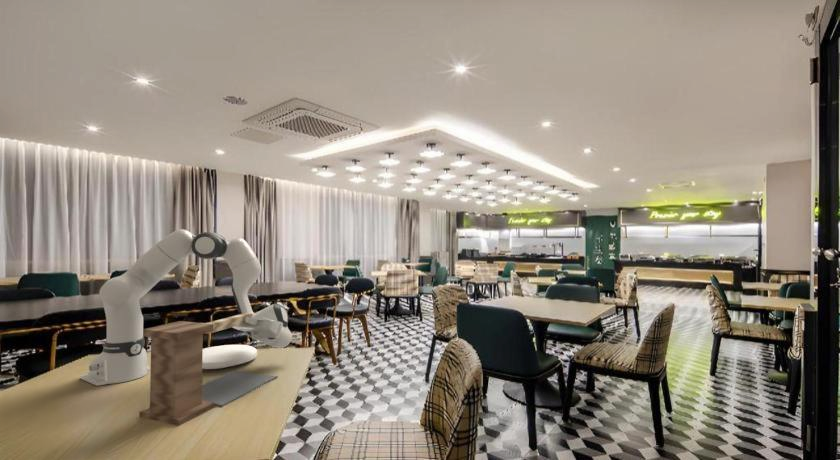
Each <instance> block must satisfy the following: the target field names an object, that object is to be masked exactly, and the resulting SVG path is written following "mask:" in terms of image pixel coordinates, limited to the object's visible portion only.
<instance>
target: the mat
mask: <svg viewBox="0 0 840 460" xmlns="http://www.w3.org/2000/svg"><path fill="white" fill-rule="evenodd" d="M276 379H279V378H278V375H272V374H264V373H258V372H250V371H244V370H238V369H236V370H232V371H230V372H228V373H225V374H223V375H221V376H219V377H216V378H215V379H212V380H209V381H207V382H205V383H202V400H203V401H209V402H214V403H215V406H216V407H220V408H221V407H222V408H223V407H225V406H227V405H228V404H230V403H233V402H234V401H236V400H238V399H240V398H242V397H243V396H245V395H248V394H250V393H252V392H253V391H255V390H257V389H259V388H261V387H262V386H261V385H263V384H265V385H266V383H267V384H268V383H270V382H272V381H275V380H276ZM271 380H272V381H271ZM260 386H261V387H260ZM263 386H264V385H263ZM258 387H259V388H258ZM256 388H257V389H256ZM254 389H255V390H254ZM252 390H253V391H252ZM247 393H248V394H247Z"/></svg>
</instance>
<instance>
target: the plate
mask: <svg viewBox="0 0 840 460" xmlns="http://www.w3.org/2000/svg"><path fill="white" fill-rule="evenodd" d="M257 357H258V349H257V348H256V347H254V346H251V345H247V344H224V345H218V346H217V345H215V346H209V347H205V348H203V354H202V370H217V369H224V368H229V367H234V366H237V365H241V364H245V363H248V362H250V361H252V360H254V359H256V358H257Z"/></svg>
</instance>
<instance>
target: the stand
mask: <svg viewBox="0 0 840 460" xmlns="http://www.w3.org/2000/svg"><path fill="white" fill-rule="evenodd" d="M206 323H207V322H205V323H204V322H195V321H194V322H193V321H183V320H179V321H175V322H174V321H173V322H169V323H166V324H161V325H157V326H156V325H155V326H153V327H148V328H147V327H146V328H143V337H147V338H151V339H150V380H149V381H150V385H149V389H150V390H149V397H150V398H149V407H147V408H145V409H142V410H140V411H138V412H139V413H138V417H139V418H143V419H147V420H151V421H157V422H161V423H166V424H171V425H175V426H181V425H183V424H185V423H187V422H189V421H191V420H193V419H195V418H197V417H199V416H200V415H202V414H204V413H206V412H208V411H210V410H212V409H214V408H215V403H214V402H209V401H203V400H202V385H203V369H202V354H203V349H204V347H203V343H204V342H203V341H204V340H203V339H204V338H203V337H204V334H203V333H206V332H210V331H213V324H206Z"/></svg>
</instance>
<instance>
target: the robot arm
mask: <svg viewBox="0 0 840 460" xmlns="http://www.w3.org/2000/svg"><path fill="white" fill-rule="evenodd" d="M192 254H194V255H195V256H197V257H198V258H200V259H203V260H213V259H216V258H222V259H223V260H225V262H226V264H228V266H229V268H230V271H231V273H232V277H233V278H232V283H231V286H230V287H231V288H230V289H231V293H232V296H233V298H234V302H235V305H236V307H237V311H238V313H239V314H243V313H253V319H252V318H249V317H244V319H243V321H244V322H246V323H245V324H241V325H238V326H234V327H231V328H232V329H235V330H238V331H242V332H244V333H245V335H246V336H248V337H250V338H252V339H253V340H256V341H259V342H261V343H264V344H266V345H268V346H270V347H272V348H276V349H282V348H283V349H284V348H285V347H287V346H288V345H290V343H291V341H292V340H293V334H292V333H293V332H291V330H290V329H289V327H288V323H289V315H288V311H287V310H286V308H285V307H284V306H283V305H282V304H281V305H280V303H273V304H271V305H269V306H267V307H264V308H262V309H261V310H259V311H256V312H254V311H253V309H252V305H251V302H250V300H249V296H248V292H249V291H250V288H251V287H252V286H253V285H254V284H255V283H256V281H257V280H258V279H259V278H260V275H261V273H262V266H261V262H260V260H259V259H258V257H257V255H256V254H255V252H254V250H253V249H252V247H251V246H250V244H249V243H248V242H247V240H245V239H244V238H242V237H236V238H232V239H230V240H226V238H225V237H224V236H222V235H221V234H219V233H217V232H213V231H212V232H211V231H204V232H201V233H198V234H197V235H195V234H193V233H192V232H190V231H189V230H187V229H183V228H181V229H180V228H179V229H176V230H175V231H172V232H171V233H169V234H168V235H166V236H164V237H163V238H161V239H160V240H159V241H158V242H157V243H155V244H154V245H153V246H152V247H151V248H149V249H148V250H147V251H146V252H145V253H143V254H142V255H141V256H140V257H139V258H138V260H137V261H136V262H134V264H133V265H132V266H130V268H129V269H128V270H127V271H125V272H124V273H122V274H121V275H119V276H114V277H112V278H109V279H108V280H107V281H106V282H104V284H103V285H102V286H101V287H100V289H99V295H98V296H99V299H100V300H101V301H102V304H103V309H104V313H105V319H106V341H105V342H101V343H102V345H101V346H102V348H103V349H102V352H101V353H99V354H98V355H96V356H95V358H93V359H92V360H91V361H90V363H89V367H88V372H86V373H84V374H82V375H80V380H83V381H85V382H88V383H90V384H92V385H93V386H97V387H98V386H104V385H110V384H118V383H119V384H120V383H124V382H129V381H133V380H137V379H140V378H141V377H145V376H146V375H147V374H148V372H149V370H151V365H148V357H147V355H148V354H147V350H146V349H145V348H144V347H145V343H146V342H145V336H143V329H144V315H143V314H142V313H143V312H142V309H141V305H140V304H141V303H140V300H141V298H143V297H144V296H145V295H147V293H148V292H150V291H151V290H152V289H153V287H155V286H156V285H157V284H158V283H159V282H160V281H161V280H162V279H163V278H164V277H165V276H166V275H167V274H169V273H170V272H171V271H172V270H174V268H176V267H177V266H178V265H179V264H180V263H181V262H182V261H184V260H185V259H186V258H187V257H188V256H190V255H192ZM239 314H238V315H239Z"/></svg>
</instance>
